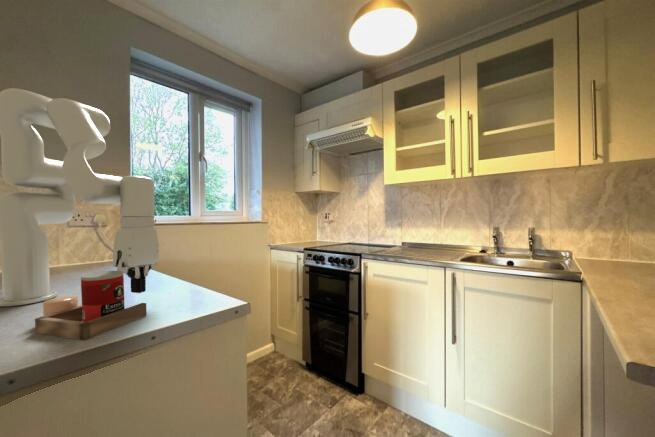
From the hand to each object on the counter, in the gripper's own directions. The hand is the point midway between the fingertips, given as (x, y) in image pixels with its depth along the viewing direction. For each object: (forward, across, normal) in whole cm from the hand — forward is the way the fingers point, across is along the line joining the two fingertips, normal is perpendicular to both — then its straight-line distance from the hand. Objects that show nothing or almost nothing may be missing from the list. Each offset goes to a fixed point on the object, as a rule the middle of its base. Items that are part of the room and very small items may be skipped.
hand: (138, 291), depth 76 cm
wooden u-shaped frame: (+4, +11, +1) cm, 12 cm away
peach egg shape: (+4, +12, -9) cm, 16 cm away
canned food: (+4, +10, +1) cm, 11 cm away
